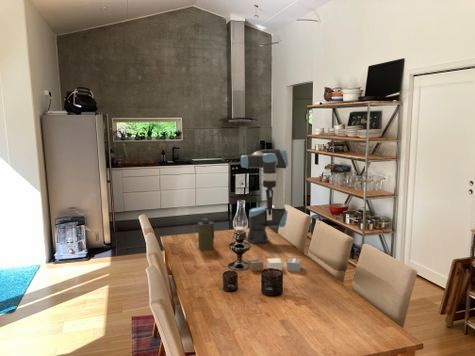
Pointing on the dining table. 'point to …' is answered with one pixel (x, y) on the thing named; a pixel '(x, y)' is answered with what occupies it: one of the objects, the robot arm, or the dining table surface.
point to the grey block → (294, 264)
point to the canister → (206, 234)
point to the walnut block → (255, 264)
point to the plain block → (274, 263)
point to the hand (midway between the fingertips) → (269, 219)
